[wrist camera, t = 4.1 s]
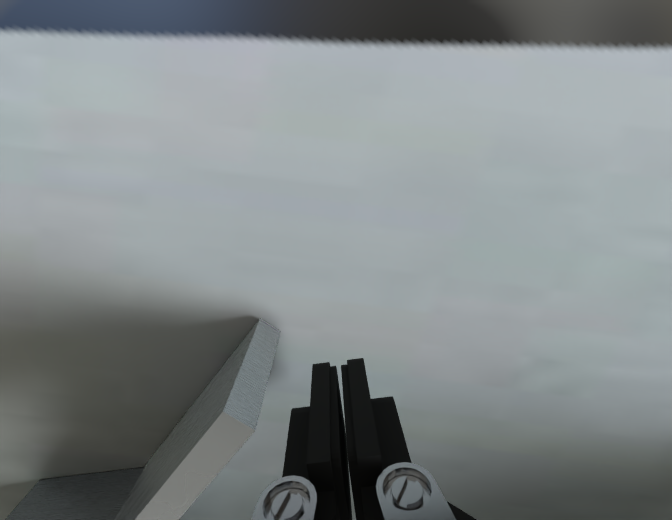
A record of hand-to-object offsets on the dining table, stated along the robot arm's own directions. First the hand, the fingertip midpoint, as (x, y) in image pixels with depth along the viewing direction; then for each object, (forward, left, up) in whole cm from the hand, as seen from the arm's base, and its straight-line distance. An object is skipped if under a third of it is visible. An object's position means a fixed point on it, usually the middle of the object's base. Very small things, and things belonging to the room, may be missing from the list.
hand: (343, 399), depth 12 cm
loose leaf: (+6, +2, -3) cm, 7 cm away
